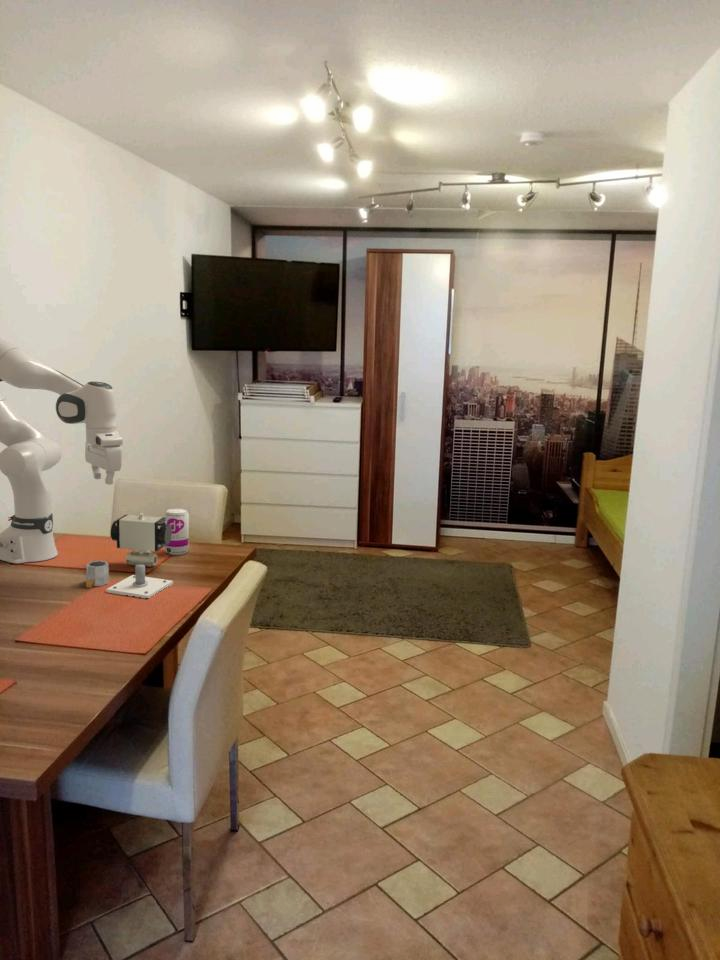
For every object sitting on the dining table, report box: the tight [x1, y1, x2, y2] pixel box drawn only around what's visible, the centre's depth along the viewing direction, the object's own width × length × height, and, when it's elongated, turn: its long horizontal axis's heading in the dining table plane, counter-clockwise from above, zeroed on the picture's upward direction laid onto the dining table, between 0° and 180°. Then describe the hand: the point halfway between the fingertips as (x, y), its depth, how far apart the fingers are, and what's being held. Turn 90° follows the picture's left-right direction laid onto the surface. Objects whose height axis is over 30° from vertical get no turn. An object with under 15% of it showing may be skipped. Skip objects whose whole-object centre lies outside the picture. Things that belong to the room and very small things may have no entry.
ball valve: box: [110, 512, 172, 568], centre depth 239 cm, size 18×8×18 cm, turn 84°
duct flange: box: [105, 564, 174, 599], centre depth 219 cm, size 14×14×7 cm
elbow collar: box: [85, 560, 110, 589], centre depth 221 cm, size 8×6×6 cm
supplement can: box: [164, 508, 190, 556], centre depth 254 cm, size 8×8×15 cm
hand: (103, 481), depth 222 cm, fingers open, 8 cm apart
